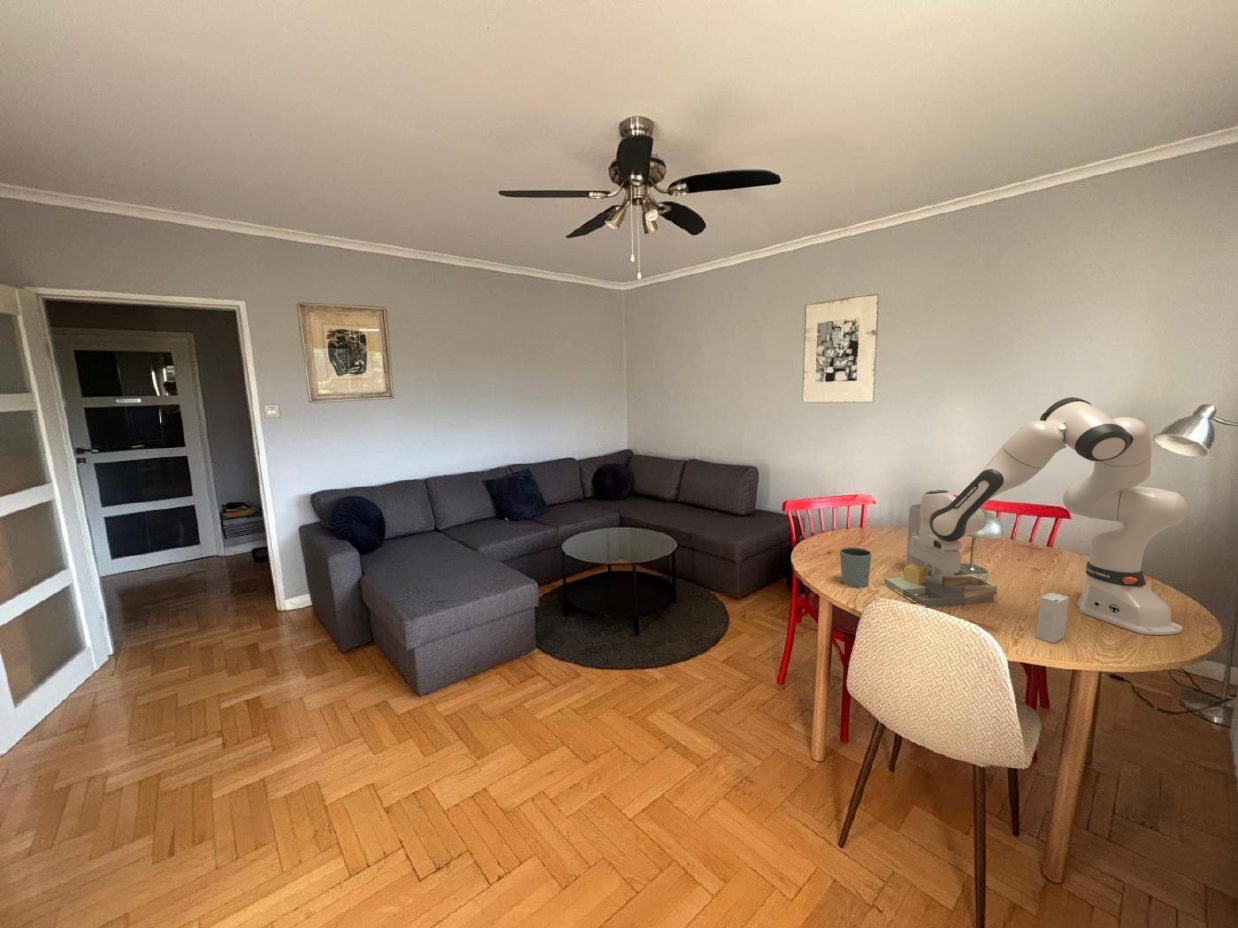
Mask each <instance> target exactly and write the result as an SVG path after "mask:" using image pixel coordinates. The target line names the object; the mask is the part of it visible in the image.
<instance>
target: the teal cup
mask: <svg viewBox="0 0 1238 928" xmlns="http://www.w3.org/2000/svg"><path fill="white" fill-rule="evenodd" d="M839 555H840V566H841V567H840V570H841V583H842V582H843V583H844V584H846V585H848V586H847V587H849V586H852V587H851V588H853V587H865V588H867V587H869V581H870V571H871V561H872V552H871V551H870V550H868V549H866V548H862V547H853V546H852V547H851V546H849V547H842V548H841V549H840V550H839ZM843 583H842V584H843ZM844 584H843V585H844ZM846 585H845V586H846ZM866 586H867V587H866Z"/></svg>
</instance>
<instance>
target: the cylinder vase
mask: <svg viewBox="0 0 1238 928" xmlns="http://www.w3.org/2000/svg"><path fill="white" fill-rule="evenodd" d="M920 507H921V503H917V504H915V503H914V504H911V505H909V507H908V508H909V511H908V527H907V528H908V529H907V545H906V546H907V547H906V562H905V563H906V564H905V566H907V565H910V564H915V565H919V566H923V567H925V565H924V563H925V562H924V561H922V560H920V559H918V558H916V557H914V556H911V555H910V553H909V545H910V540H911V537H912V534H913V532H914V531H916V530H917V531H919V526H920V523H921V518H920ZM940 574H946V572H944V571H942V570H940V571H939V573H938V575H940Z"/></svg>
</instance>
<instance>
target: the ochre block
mask: <svg viewBox="0 0 1238 928" xmlns="http://www.w3.org/2000/svg"><path fill="white" fill-rule="evenodd" d="M903 567H904V571H903V572H904V573H903V577H904V581H908V582H911V583H914V584H917V585H919V584H922V583H924V582H926V579H927V570H926V567H923V566H919V565H915V564H910V565H907V566H906V565H904V566H903Z"/></svg>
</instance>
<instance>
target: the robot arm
mask: <svg viewBox="0 0 1238 928" xmlns="http://www.w3.org/2000/svg"><path fill="white" fill-rule="evenodd" d="M1149 432H1150V431H1149V429H1148V427H1147V425H1146V423H1144V422H1143V421H1141V420H1140V419H1137V418H1135V417H1129V416H1120V417H1119V416H1118V417H1113V418H1111V416H1109V415H1108V414H1107V413H1105V412H1104V411H1102V410H1100V409H1099V408H1097V407H1096V406H1094V405H1092V403H1090V402H1089V401H1087V400H1085V399H1083V398H1079V397H1074V396H1073V397H1065V398H1061V400H1058V401H1057V402H1055V403H1053V404H1052V405H1051V406H1049V407H1048V408H1047V409H1046V410H1045V412H1043V413H1042V414H1041V416H1040V419H1037V420H1032V421H1029V422H1027V423H1026V424H1025V425H1023V426H1022V427H1021V428H1020V429H1019V430H1017V431H1016V432H1015V433H1014V434H1013V435H1011V437H1010V438H1009V439H1008V440H1007V441H1006V442H1005V443H1004V444H1003V445H1002V446H1001V447H1000V448H999V450H998V451H997V452H996V453H995V454H994V455H993V457H992V458H991V460H990V461H989V462H988V463H987V464H986V466H984V468H983V469H982V470H981V471H980V472H979V474H978V475H977V476H976V478H974V480H972V481H971V482H970V483H969V484H968V485H967V486H966V487H965V488H964V489H963V490H962V492H960V493H959V495H957V496H955V495H953V494H952V492H951V491H949V490H943V489H939V490H938V489H937V490H930V491H927V492H924V493H923V495H922V497H921V501H920V504H921V507H920V518H921V523H920V526H919V531H917V530H916V531H914V532H913V534H912V537H911V540H910V545H909V553H910V555H911V556H914V557H916V558H918V559H920V560H922V561H924V562H925V563H924V565H925V567H926V570H927V575H928V576H930V577H932V578H937V577H938V573H939V571H940V570H942V571H944V572H945V574H954V575H957V574H958V573H959V572H960V571H961V568H962V554H961V551H960V550H962V548H963V545H962V543H961V542H960V541H959V540H960V539H961V538H964V537H967V536H970V535H972V534H975V533H978V532H980V531H982V530H983V529H984V528H985V527H986V524H987V518H986V514H985V512H984V511H983V509H982V507H983V506H985V505H986V503H987V502H988V501H990V500H991V499H992V498H994V497H996V496H997V495H999V494H1002V493H1003V492H1006V491H1008V490H1011V489H1014V488H1017V487H1019V486H1022V485H1023V484H1026V483H1027V482H1028V481H1029V480H1031V479H1032V478H1034V477H1035V476H1037V474H1039V472H1041V471H1042V470H1043V469H1044V468H1045V466H1046V465H1047V464H1048V463H1049V462H1050V461H1051V460H1052V459H1053V457H1054V456H1055V454H1056V453H1058V452H1060V451H1061V450H1063V449H1066V448H1067V447H1069V448H1071V449H1073V451H1075V453H1076V454H1077V455H1078V456H1080V457H1082V458H1083V459H1086V460H1088V461H1090V462H1094V465H1093V472H1092V474H1090V475H1089V477H1087V478H1085V479H1084V480H1080V481H1078V482H1074V483H1073V484H1071V485H1070V486H1068V487H1067V488H1066V489H1065V491H1064V493H1063V496H1062V502H1063V503H1062V504H1063V505H1064V507H1065V509H1066V510H1067V511H1068V512H1069V513H1071V514H1074V515H1077V516H1080V517H1084V518H1088V519H1095V520H1103V521H1109V522H1117V523H1120V524H1122V527H1120V528H1119V529H1115V530H1109V531H1105V532H1102V533H1099V534H1096V535H1094V537H1092V539H1091V541H1090V547H1089V558H1088V560H1087V562H1086V566H1085V574H1086V578H1085V583H1084V586H1083V588H1082V589H1083V590H1082V592H1081V595H1080V597H1079V598H1078V601H1077V602H1076V606H1077V607H1078V613H1081V614H1084V615H1087V616H1088V617H1089V616H1090V617H1091V618H1094V619H1098V620H1100V621H1103V622H1106V623H1109V624H1112V625H1113V626H1117V627H1120V628H1122V629H1126V630H1128V631H1132V632H1134V633H1138V634H1142V635H1152V636H1166V635H1177V634H1180V633H1182V632H1183V626H1182V625H1180V624H1178V623H1176V622H1174V621H1172V612H1171V608H1170V607H1169V605H1168V604H1167V603H1166V602H1165V601H1164V600H1163V599H1162V598H1160V597H1159V595H1157V594H1156V593H1155V592H1154V591H1153V590H1152V589H1151V588H1150V587H1149V586H1148V585H1147V582H1148V581H1151V578H1152V576H1145V574H1144V573H1143V570H1142V569H1141V568H1142V561H1143V557H1144V552H1145V549H1146V547H1147V545H1148V543H1149V542H1150V540H1151V539H1153V537H1154V536H1155V535H1157V534H1159V533H1160V532H1162V531H1164V530H1167V529H1168V528H1171V527H1175V526H1177V525H1179V524H1180V523H1182V522H1183V521H1184V520H1185V518H1186V517H1187V515H1188V513H1189V505H1188V502H1187V500H1186V499H1185V498H1184V497H1183V496H1182V495H1181V494H1180V493H1179V492H1176V491H1171V490H1167V489H1162V488H1157V487H1149V486H1148V487H1147V486H1140V485H1141V484H1143V482H1145V481H1146V480H1148V478H1149V477H1150V475H1151V465H1152V442H1151V436H1150V433H1149Z"/></svg>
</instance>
